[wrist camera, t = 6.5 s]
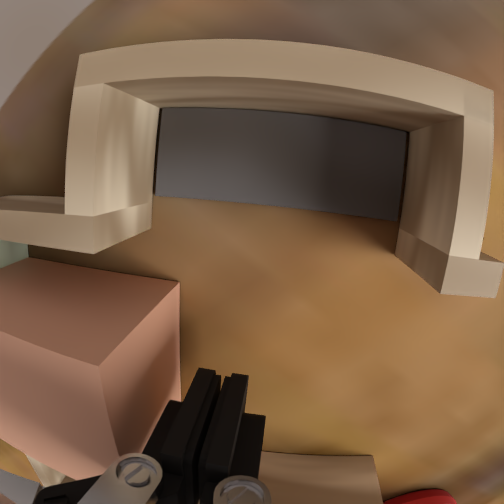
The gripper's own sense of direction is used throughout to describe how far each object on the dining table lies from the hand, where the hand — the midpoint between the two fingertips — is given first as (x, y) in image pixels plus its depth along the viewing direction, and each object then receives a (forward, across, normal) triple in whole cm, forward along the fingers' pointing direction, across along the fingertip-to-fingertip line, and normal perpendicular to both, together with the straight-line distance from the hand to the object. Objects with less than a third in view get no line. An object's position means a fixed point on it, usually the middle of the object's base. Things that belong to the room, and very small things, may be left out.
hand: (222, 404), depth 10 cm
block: (+3, +6, 0) cm, 7 cm away
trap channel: (+3, +2, 0) cm, 3 cm away
